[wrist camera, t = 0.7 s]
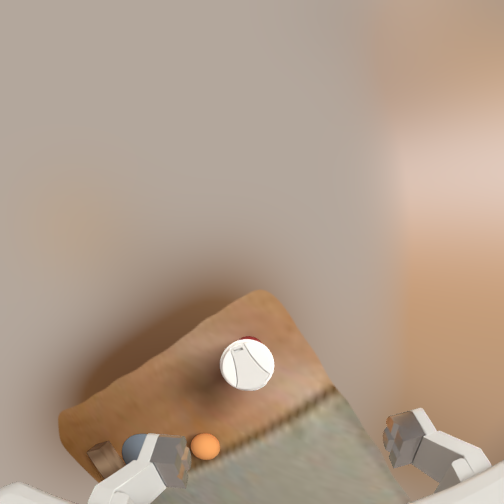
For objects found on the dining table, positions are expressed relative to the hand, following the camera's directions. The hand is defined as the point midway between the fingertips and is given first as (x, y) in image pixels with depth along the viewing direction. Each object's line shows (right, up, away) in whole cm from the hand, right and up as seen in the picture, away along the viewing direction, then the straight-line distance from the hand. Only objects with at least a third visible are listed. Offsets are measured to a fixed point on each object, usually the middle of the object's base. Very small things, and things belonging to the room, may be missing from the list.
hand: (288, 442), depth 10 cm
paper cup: (-2, -11, +44) cm, 45 cm away
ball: (-10, -29, +38) cm, 49 cm away
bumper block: (-30, -40, +40) cm, 64 cm away
